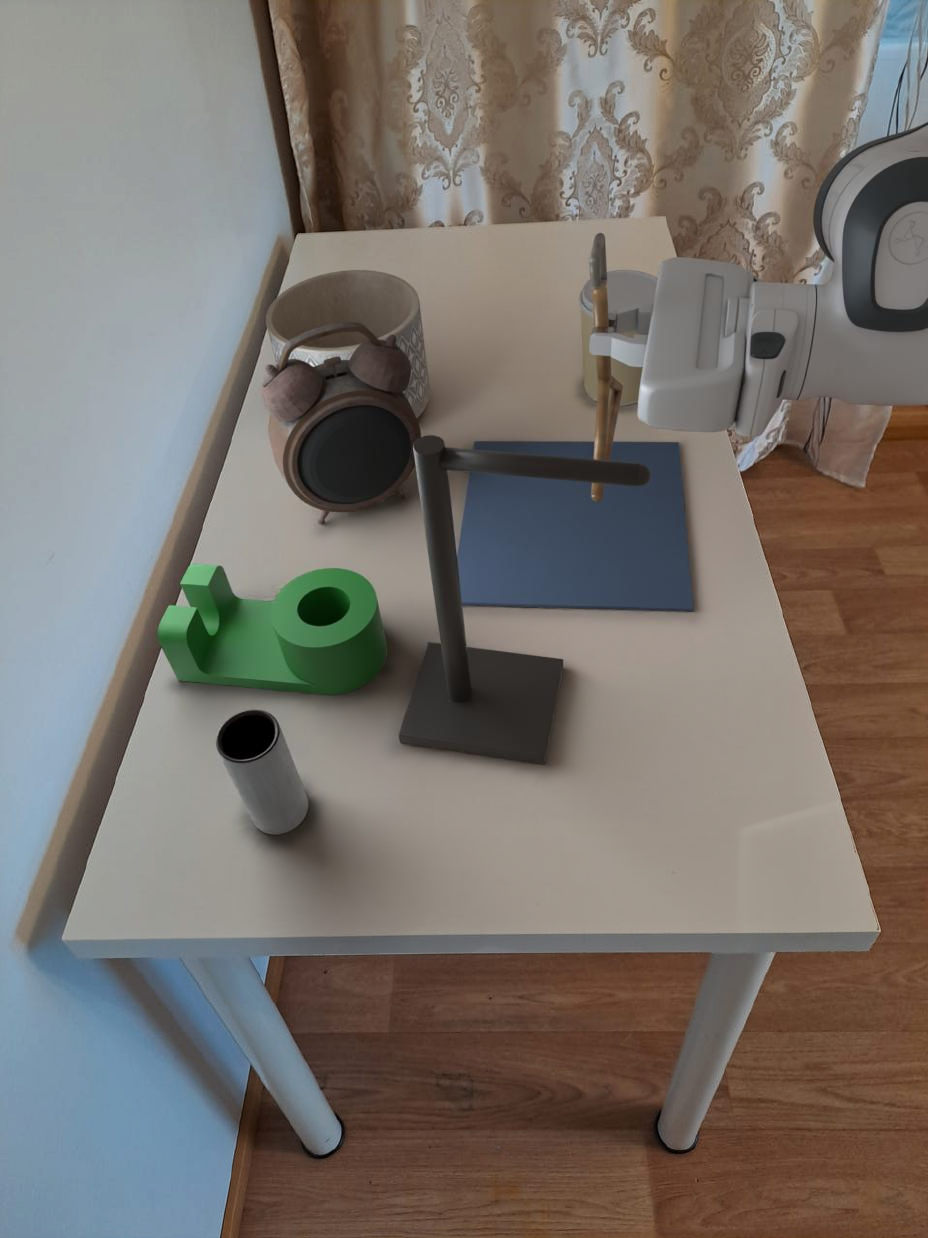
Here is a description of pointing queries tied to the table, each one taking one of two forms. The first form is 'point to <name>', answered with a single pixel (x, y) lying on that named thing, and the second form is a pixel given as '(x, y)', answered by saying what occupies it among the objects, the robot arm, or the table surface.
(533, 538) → the mat
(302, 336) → the alarm clock
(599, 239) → the hanger
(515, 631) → the table surface
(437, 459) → the rail
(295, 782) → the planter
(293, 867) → the table surface
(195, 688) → the table surface
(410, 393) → the planter
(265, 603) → the green bracket
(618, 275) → the coffee cup
